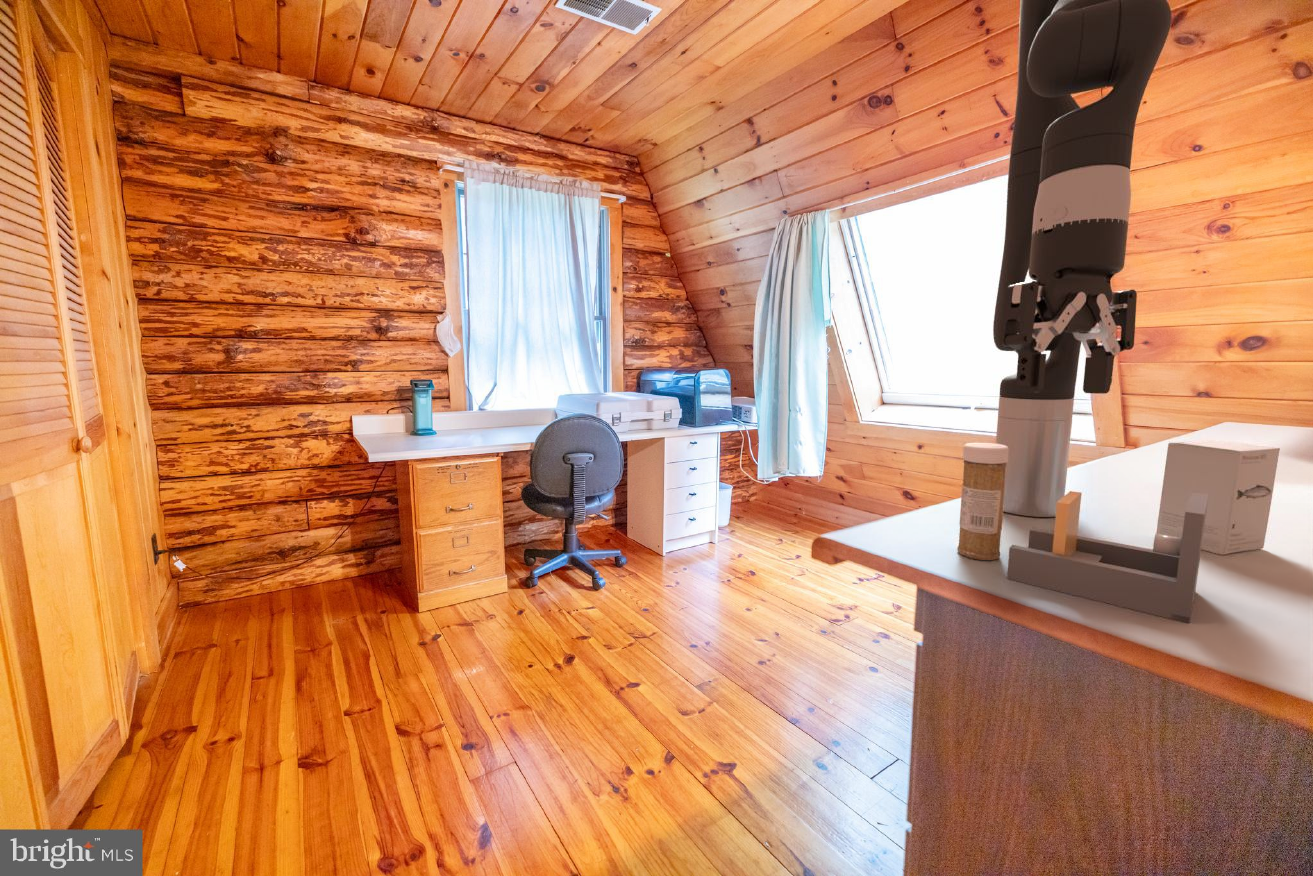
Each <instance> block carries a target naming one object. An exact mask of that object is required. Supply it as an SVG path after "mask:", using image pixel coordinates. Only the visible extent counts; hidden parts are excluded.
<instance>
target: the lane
mask: <svg viewBox="0 0 1313 876" xmlns="http://www.w3.org/2000/svg"><path fill="white" fill-rule="evenodd" d="M1208 497H1209V495H1208V494H1200V493H1192V494H1191V497H1190V500H1189V502H1188V505H1187V508H1186V511H1185V518H1184V525H1183V533H1182V538H1180V537H1174V536H1167V535H1161V534H1156V533H1155V534H1154V538H1153V539H1154V540H1153V546H1152V547H1153V548H1146V547H1141V546H1135V545H1131V544H1125V543H1124V544H1123V543H1119V542H1114V541H1107V540H1103V539H1099V538H1098V539H1097V538H1091V537H1088V536H1087V537H1086V536H1081V535H1077V543H1076V551H1080V552H1085V553H1090V554H1095V555H1100V556H1102V563H1100V562H1095V561H1091V560H1086V559H1081V558H1076V557H1071V556H1066V555H1061V554H1056V553H1052V551H1053V540H1054V531H1053V530H1049V529H1048V530H1047V529H1042V528H1036V527H1032V528H1030V529H1029V532H1028V533H1029V535H1028V544H1027V546H1021V545H1017V544H1011V545H1010V546H1009V547H1008V549H1009V550H1008V562H1007V573H1006V575H1007V576H1006V579H1008V580H1011V581H1016V582H1020V583H1023V584H1028V585H1032V586H1036V587H1040V588H1044V589H1047V590H1048V589H1049V590H1052V591H1056V592H1060V593H1065V594H1067V595H1072V596H1077V597H1080V598H1085V599H1089V600H1093V601H1097V602H1102V603H1105V604H1108V605H1109V604H1110V605H1114V606H1118V607H1121V608H1125V609H1129V610H1135V611H1137V612H1142V613H1146V614H1150V615H1154V616H1158V617H1163V618H1165V619H1166V618H1167V619H1171V620H1176V621H1179V622H1183V623H1187V624H1190V622H1191V617H1192V612H1193V607H1194V601H1195V595H1196V589H1197V583H1198V575H1199V569H1200V562H1201V554H1202V550H1201V548H1202V541H1203V533H1204V526H1205V519H1206V512H1207V504H1208Z"/></svg>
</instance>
